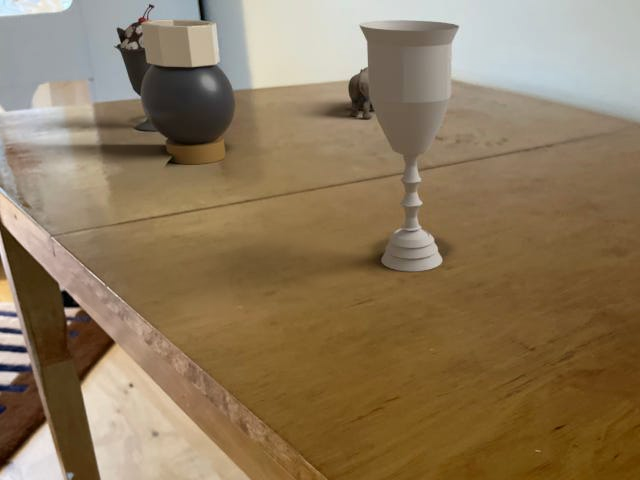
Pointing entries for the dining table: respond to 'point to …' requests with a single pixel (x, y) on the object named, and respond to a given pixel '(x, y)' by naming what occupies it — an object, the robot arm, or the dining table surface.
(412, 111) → the chalice
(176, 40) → the ring
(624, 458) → the dining table surface
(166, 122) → the ball
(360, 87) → the rhino figurine
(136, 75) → the sundae
